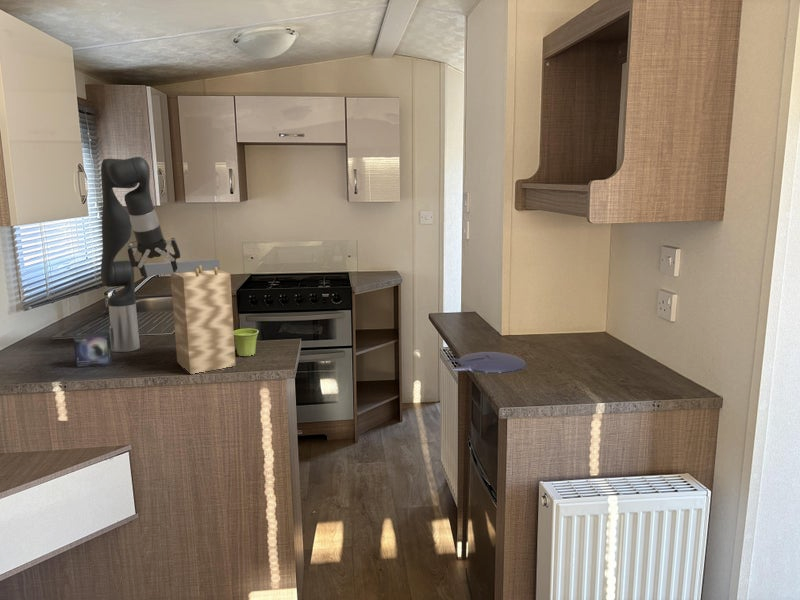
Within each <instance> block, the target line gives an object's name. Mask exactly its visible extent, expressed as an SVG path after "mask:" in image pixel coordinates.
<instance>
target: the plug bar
mask: <svg viewBox="0 0 800 600" xmlns="http://www.w3.org/2000/svg"><path fill="white" fill-rule="evenodd" d="M176 263H177V270H176V272H173V268H172V265H171V261H164V262H150V263H148V262H147V263H144V267H145V270H146V273H147V277H149V276H160V275H171V274H174V273H186V272H196V268H198V269H199V265H201V266H202V271H210V270H214V267H217V270H221V268H220V259H218V258H207V259H206V258H205V259H191V260H176Z"/></svg>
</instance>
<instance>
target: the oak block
mask: <svg viewBox="0 0 800 600" xmlns="http://www.w3.org/2000/svg"><path fill="white" fill-rule="evenodd" d="M231 280H232V279H231V273H229V272H227V271H224V270H221V269H220V270H217V267H214V270H210V271H202V266H201V265H199V269H198V268H196V272H186V273H174V274H170V285H171V286H170V287H171V294H172V295H171V296H172V297H171V298H172V309H173V311H172V312H173V324H174V336H175V350H176V362H177V363H178V364H179V365H180V366H181V368H183V369H184V368H185V369H186V370H187V371H188V372H189V373H190V374H193V375H196V374H195V373H199V372H204V373H206V372H205V371H210V370H216V369H222V368H226V367H232V366H236V352H235V351H236V350H235V348H236V346H235V338H234V331H235V330H234V316H233V315H234V314H233V313H234V312H233V299H232V297H233V296H232V281H231ZM185 369H184V370H185ZM186 370H185V371H186ZM222 370H223V369H222ZM187 371H186V372H187ZM216 371H217V370H216ZM188 372H187V373H188ZM210 372H211V371H210ZM189 373H188V374H189ZM190 374H189V375H190ZM199 374H200V373H199Z"/></svg>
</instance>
